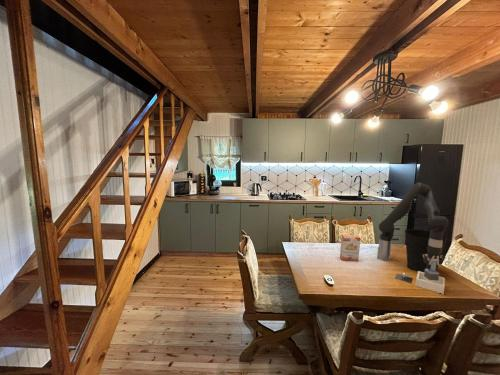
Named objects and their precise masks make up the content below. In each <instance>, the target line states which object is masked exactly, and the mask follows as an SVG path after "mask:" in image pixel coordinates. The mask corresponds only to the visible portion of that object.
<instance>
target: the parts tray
mask: <svg viewBox="0 0 500 375" xmlns="http://www.w3.org/2000/svg"><path fill="white" fill-rule="evenodd" d="M445 278H446V277H442V276H439V278H438V280H429V279H427V278H426V277H425V276H424V272H420V271H418V272H417V275H416V278H415V286H416V287H417V288H418V287H419V288H423V289H425V290H429V291H433V292H435V293H438V294H439V293H442V294H443V295H444V292H445V288H446V287H445V285H446V284H445V283H446V279H445Z"/></svg>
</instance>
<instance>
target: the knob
mask: <svg viewBox="0 0 500 375" xmlns="http://www.w3.org/2000/svg"><path fill="white" fill-rule="evenodd" d="M430 260H431V259H430ZM437 260H438V259H433V261H432V262H431V264H430V265H431V268H430V270H429V269H425V272H424V276H425V277H426V278H427V279H429V280H438V278H439V277H440V272H439V271H438V270H436V263H437Z"/></svg>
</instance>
